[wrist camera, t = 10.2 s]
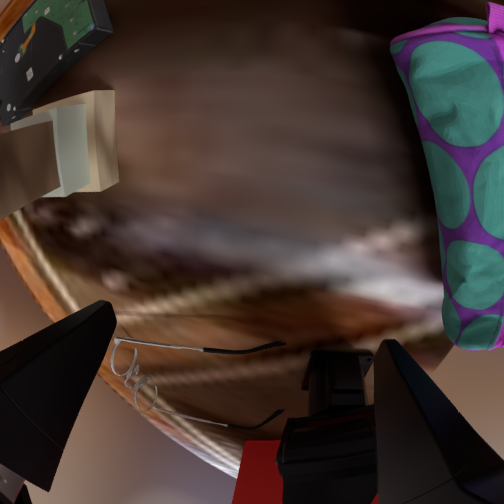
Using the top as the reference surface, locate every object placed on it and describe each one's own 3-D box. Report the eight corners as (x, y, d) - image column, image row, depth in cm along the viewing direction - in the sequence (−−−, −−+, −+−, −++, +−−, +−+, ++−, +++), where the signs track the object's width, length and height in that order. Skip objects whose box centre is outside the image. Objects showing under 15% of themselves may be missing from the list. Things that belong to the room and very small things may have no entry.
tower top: (91, 183, 18) (64, 196, 15) (43, 185, 18) (19, 197, 16) (85, 103, 15) (56, 107, 12) (37, 117, 15) (10, 123, 13)
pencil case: (500, 268, 18) (551, 334, 10) (426, 299, 21) (464, 384, 13) (459, 32, 10) (542, 11, 2) (360, 47, 13) (417, -3, 5)
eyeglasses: (115, 314, 28) (93, 344, 24) (286, 329, 25) (282, 371, 21) (156, 395, 36) (144, 421, 31) (284, 412, 33) (281, 444, 28)
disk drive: (22, 123, 19) (119, 31, 14) (3, 129, 16) (98, 26, 12) (6, 55, 15) (95, -37, 10) (-11, 57, 12) (77, -44, 8)
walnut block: (60, 186, 15) (-7, 224, 9) (25, 190, 15) (-33, 224, 10) (52, 120, 13) (-23, 141, 7) (17, 133, 13) (-46, 156, 8)
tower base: (122, 180, 20) (100, 191, 18) (62, 182, 21) (41, 192, 19) (117, 90, 17) (94, 90, 14) (56, 106, 18) (32, 110, 15)
